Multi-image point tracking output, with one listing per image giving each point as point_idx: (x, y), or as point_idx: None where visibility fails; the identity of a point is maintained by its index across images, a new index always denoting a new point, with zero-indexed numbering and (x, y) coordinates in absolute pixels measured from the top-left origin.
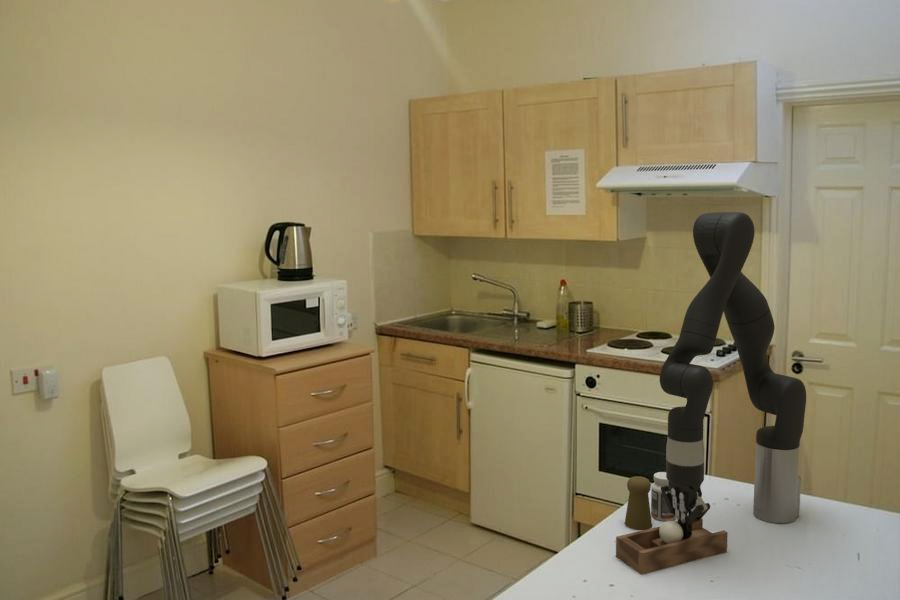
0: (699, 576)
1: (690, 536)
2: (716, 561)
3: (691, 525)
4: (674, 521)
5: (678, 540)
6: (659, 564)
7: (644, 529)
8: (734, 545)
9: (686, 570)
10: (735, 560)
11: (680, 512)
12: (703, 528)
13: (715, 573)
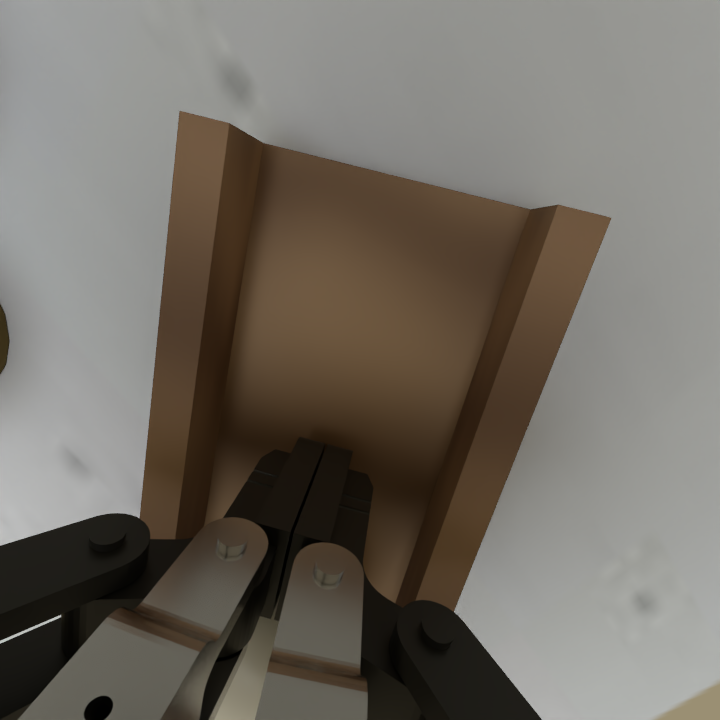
0: (570, 604)
1: (352, 452)
2: (555, 397)
3: (363, 549)
4: (248, 681)
5: None
6: None
7: (3, 354)
8: (529, 59)
9: (483, 593)
10: (650, 291)
11: (219, 704)
12: (280, 154)
13: (624, 526)
